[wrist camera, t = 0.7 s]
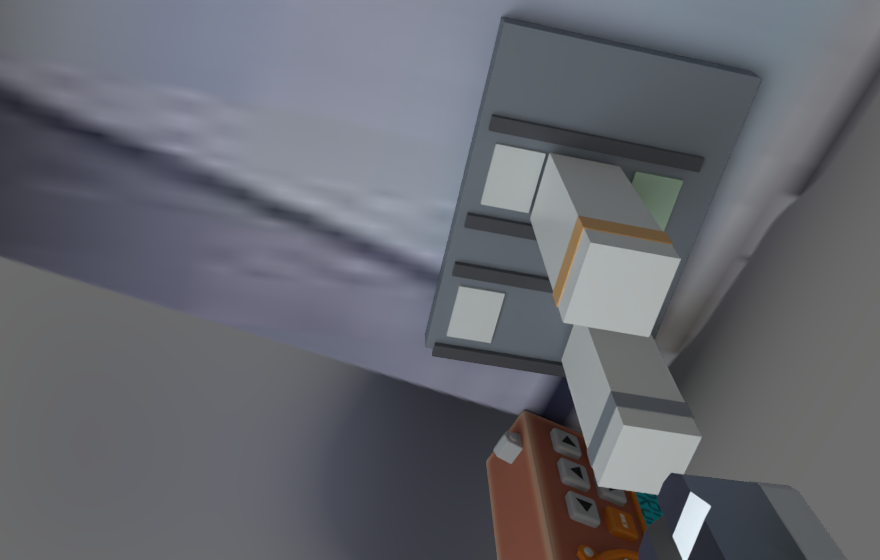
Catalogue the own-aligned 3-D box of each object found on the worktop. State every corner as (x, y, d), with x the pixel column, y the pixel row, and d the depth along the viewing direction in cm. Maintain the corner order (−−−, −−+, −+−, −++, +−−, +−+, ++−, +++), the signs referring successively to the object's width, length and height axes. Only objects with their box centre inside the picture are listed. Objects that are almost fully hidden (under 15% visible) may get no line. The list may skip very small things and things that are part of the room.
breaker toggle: (548, 151, 41) (589, 241, 32) (620, 165, 42) (682, 258, 32) (529, 219, 43) (561, 323, 34) (597, 232, 44) (649, 338, 34)
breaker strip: (501, 17, 40) (536, 81, 28) (750, 71, 41) (878, 152, 30) (424, 338, 49) (426, 482, 38) (629, 371, 51) (691, 519, 40)
